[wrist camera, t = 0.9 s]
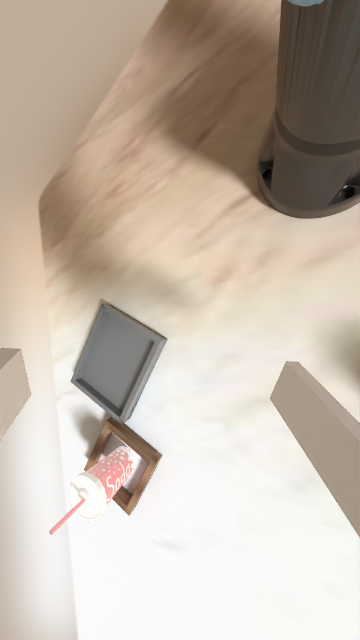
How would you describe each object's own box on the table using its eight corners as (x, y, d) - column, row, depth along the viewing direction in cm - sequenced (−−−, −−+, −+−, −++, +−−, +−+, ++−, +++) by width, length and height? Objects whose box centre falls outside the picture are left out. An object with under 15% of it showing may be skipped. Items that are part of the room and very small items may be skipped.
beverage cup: (136, 483, 36) (66, 573, 23) (108, 468, 38) (29, 542, 25) (142, 449, 36) (74, 521, 23) (113, 436, 38) (36, 494, 25)
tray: (110, 305, 39) (102, 304, 37) (167, 339, 34) (161, 340, 32) (80, 378, 41) (70, 381, 39) (129, 418, 37) (121, 424, 35)
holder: (114, 415, 38) (106, 419, 36) (162, 455, 34) (156, 462, 33) (92, 462, 40) (84, 469, 38) (136, 506, 36) (129, 515, 34)
